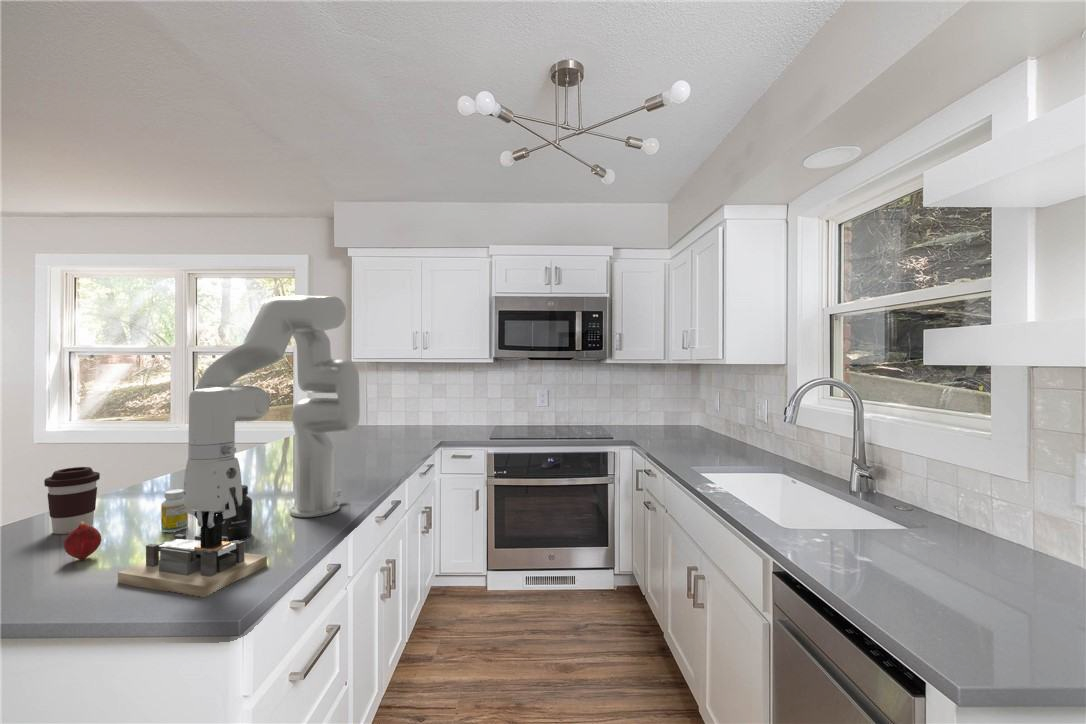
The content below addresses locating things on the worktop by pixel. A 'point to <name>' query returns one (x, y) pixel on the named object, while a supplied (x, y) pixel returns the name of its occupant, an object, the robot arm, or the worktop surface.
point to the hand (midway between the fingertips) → (211, 545)
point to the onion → (82, 541)
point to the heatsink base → (191, 580)
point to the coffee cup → (71, 498)
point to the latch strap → (195, 545)
